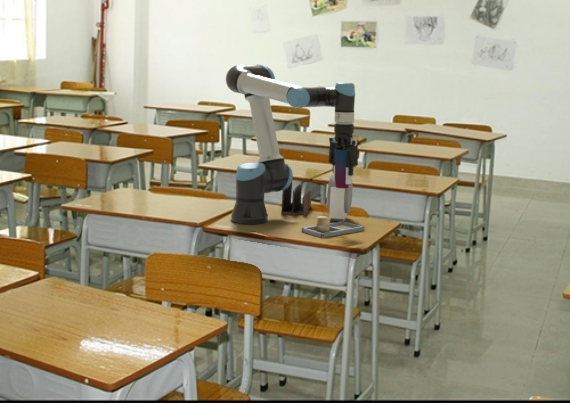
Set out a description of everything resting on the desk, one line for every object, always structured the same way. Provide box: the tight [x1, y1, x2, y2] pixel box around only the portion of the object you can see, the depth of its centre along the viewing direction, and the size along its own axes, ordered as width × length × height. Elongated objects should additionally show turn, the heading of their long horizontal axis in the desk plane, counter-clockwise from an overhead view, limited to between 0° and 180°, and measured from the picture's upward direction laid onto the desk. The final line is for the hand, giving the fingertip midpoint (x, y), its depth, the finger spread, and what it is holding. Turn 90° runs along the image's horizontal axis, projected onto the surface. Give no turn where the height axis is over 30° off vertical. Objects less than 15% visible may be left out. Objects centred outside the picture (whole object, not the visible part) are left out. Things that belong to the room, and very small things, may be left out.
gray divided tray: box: [301, 221, 365, 239], centre depth 311 cm, size 12×22×2 cm, turn 131°
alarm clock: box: [326, 174, 354, 222], centre depth 334 cm, size 18×8×20 cm, turn 168°
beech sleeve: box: [316, 215, 331, 233], centre depth 307 cm, size 5×5×6 cm
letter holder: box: [280, 181, 312, 216], centre depth 352 cm, size 10×20×14 cm, turn 169°
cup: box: [334, 149, 351, 188], centre depth 310 cm, size 7×7×15 cm
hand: (342, 182), depth 311 cm, fingers closed on cup, 6 cm apart
